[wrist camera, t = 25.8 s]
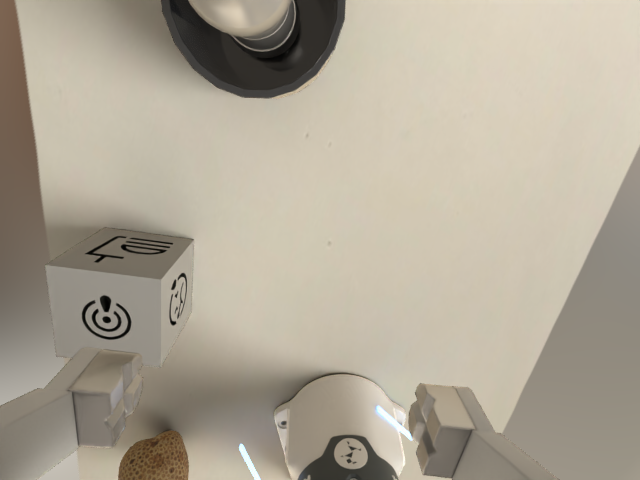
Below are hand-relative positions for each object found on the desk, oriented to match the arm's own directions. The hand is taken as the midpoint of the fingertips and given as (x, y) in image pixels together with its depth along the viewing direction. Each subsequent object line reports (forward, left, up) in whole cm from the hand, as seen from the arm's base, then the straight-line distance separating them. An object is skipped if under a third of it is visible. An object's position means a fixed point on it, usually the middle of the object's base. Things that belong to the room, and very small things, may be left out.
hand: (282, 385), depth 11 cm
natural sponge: (-39, +19, -31) cm, 53 cm away
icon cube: (-12, +18, -31) cm, 38 cm away
